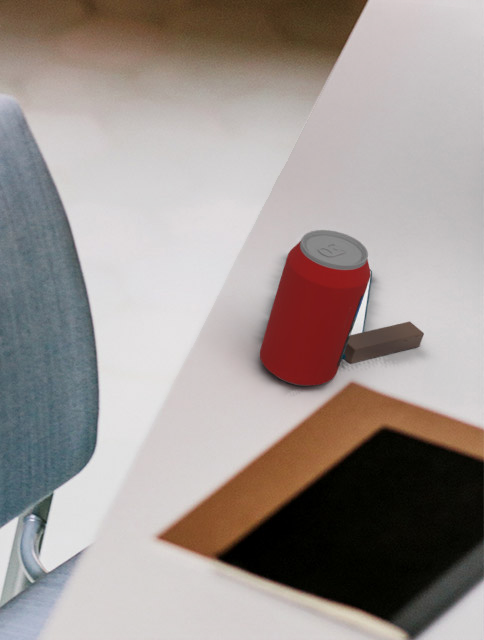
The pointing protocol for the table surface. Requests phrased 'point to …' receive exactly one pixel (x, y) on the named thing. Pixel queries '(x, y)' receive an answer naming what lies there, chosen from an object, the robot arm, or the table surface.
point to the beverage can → (315, 308)
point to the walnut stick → (382, 342)
